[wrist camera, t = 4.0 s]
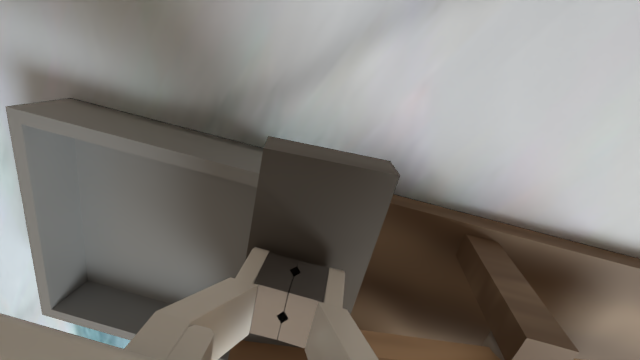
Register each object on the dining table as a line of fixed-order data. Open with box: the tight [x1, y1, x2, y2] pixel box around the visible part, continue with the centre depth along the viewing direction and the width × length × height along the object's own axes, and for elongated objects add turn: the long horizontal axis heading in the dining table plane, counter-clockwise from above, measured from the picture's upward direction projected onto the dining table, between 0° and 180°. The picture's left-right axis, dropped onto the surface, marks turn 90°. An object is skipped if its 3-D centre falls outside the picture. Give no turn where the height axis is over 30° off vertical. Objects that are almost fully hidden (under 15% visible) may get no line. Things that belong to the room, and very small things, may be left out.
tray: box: [6, 98, 263, 360], centre depth 21 cm, size 16×16×4 cm
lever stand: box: [351, 194, 640, 360], centre depth 18 cm, size 14×24×9 cm, turn 77°
